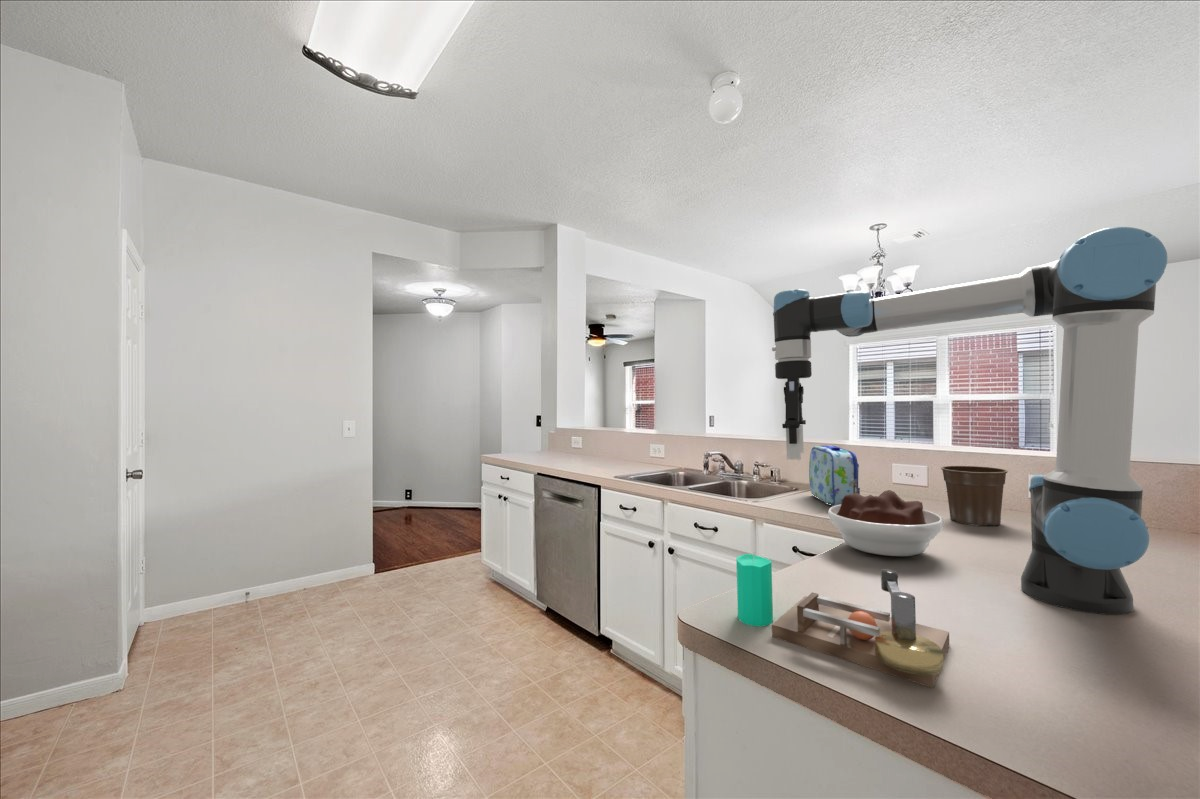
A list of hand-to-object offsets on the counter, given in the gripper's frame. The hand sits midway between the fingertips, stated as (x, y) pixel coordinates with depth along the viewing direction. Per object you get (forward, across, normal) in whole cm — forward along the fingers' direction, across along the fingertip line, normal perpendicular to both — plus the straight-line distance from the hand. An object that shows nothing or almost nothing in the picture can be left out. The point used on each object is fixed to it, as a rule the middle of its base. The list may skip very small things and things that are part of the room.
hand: (795, 455), depth 108 cm
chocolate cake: (+26, -24, +19) cm, 40 cm away
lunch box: (+26, -83, +8) cm, 87 cm away
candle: (+26, +27, -6) cm, 38 cm away
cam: (+24, +32, +17) cm, 43 cm away
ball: (+24, +33, +11) cm, 42 cm away
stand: (+26, +29, +10) cm, 40 cm away
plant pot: (+26, -66, +46) cm, 84 cm away
